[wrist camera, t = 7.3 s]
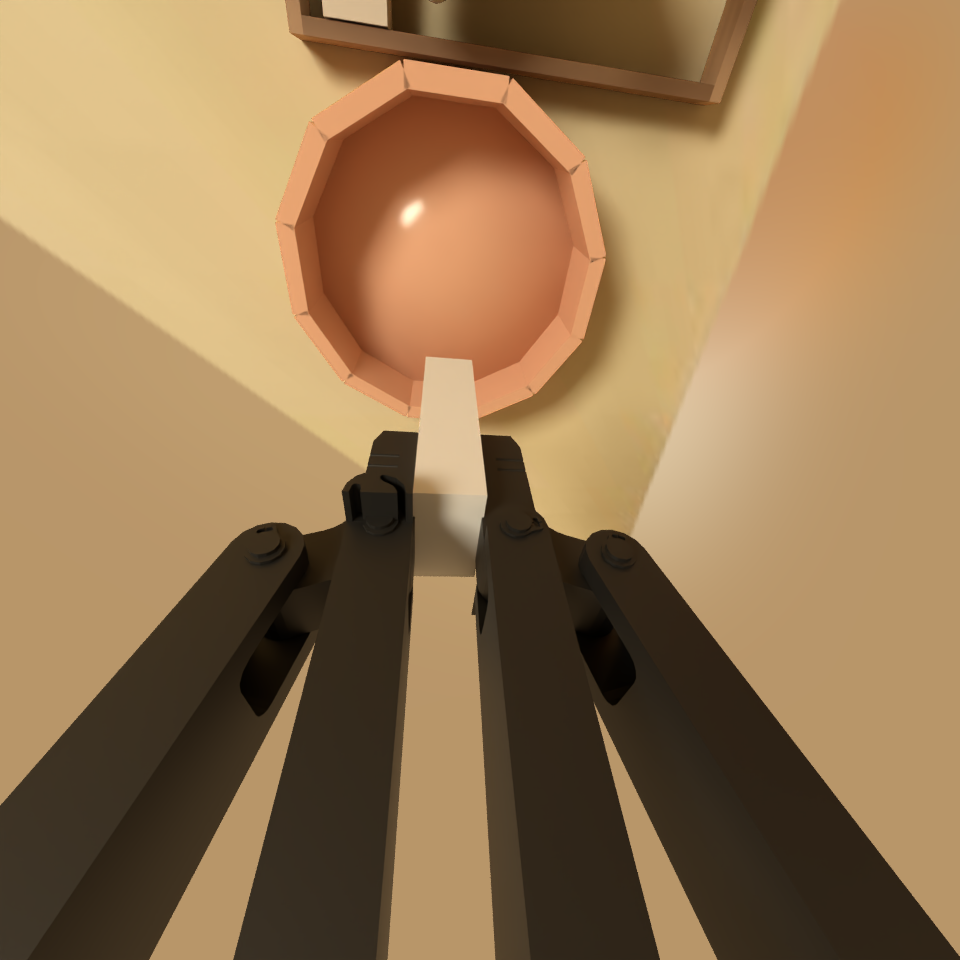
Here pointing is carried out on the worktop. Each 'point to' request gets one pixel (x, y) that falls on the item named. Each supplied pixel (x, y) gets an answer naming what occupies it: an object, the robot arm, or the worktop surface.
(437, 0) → the rock
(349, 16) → the cream cuboid block
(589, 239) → the bowl
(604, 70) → the tray
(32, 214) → the worktop surface
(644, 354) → the worktop surface
